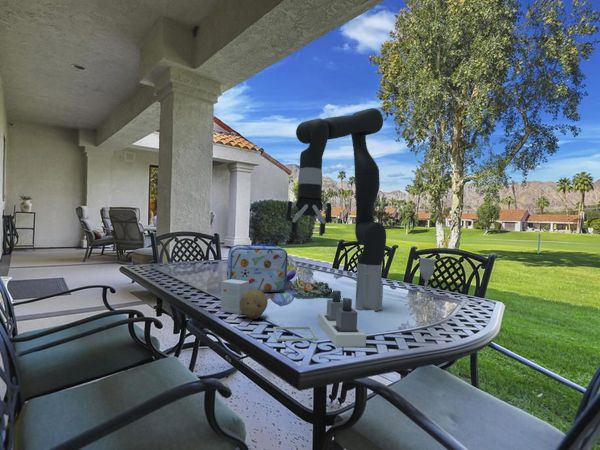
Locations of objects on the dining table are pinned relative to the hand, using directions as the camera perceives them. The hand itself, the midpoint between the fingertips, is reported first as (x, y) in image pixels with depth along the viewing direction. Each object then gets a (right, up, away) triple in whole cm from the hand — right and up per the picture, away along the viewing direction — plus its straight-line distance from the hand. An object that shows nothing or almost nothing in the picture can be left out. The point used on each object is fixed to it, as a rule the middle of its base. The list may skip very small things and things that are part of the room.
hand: (307, 235), depth 109 cm
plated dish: (+3, -29, +50) cm, 58 cm away
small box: (-25, -27, +11) cm, 39 cm away
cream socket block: (+9, -29, -11) cm, 32 cm away
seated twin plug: (+8, -28, -6) cm, 29 cm away
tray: (-4, -28, -13) cm, 31 cm away
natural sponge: (-18, -28, +2) cm, 33 cm away
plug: (+10, -28, -16) cm, 34 cm away
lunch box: (-21, -27, +46) cm, 57 cm away
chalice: (+53, -30, +44) cm, 75 cm away
